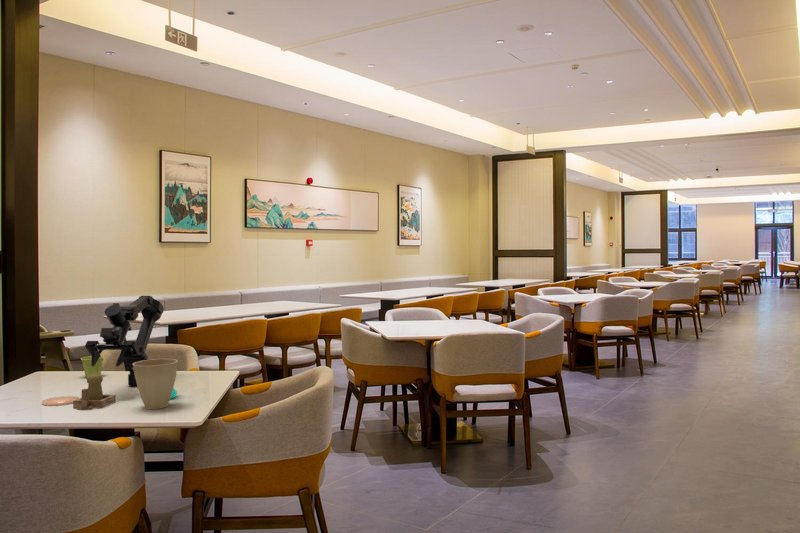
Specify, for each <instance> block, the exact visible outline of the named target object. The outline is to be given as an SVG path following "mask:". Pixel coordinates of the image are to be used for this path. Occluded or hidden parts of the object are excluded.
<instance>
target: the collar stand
mask: <svg viewBox="0 0 800 533" xmlns="http://www.w3.org/2000/svg"><path fill="white" fill-rule="evenodd" d="M116 402H117V395H116V394H103V399H102V400H89V389H88V388H82V389H81V397H79V399H77V400H75V401H73V403H72V406H73V407H72V408H73V409H76V410H77V411H79V410H80V411H82V410H83V411H85V410H86V411H92V410H94V409H103V408H106V407H107V406H110V405H112V404H115V403H116Z"/></svg>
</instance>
